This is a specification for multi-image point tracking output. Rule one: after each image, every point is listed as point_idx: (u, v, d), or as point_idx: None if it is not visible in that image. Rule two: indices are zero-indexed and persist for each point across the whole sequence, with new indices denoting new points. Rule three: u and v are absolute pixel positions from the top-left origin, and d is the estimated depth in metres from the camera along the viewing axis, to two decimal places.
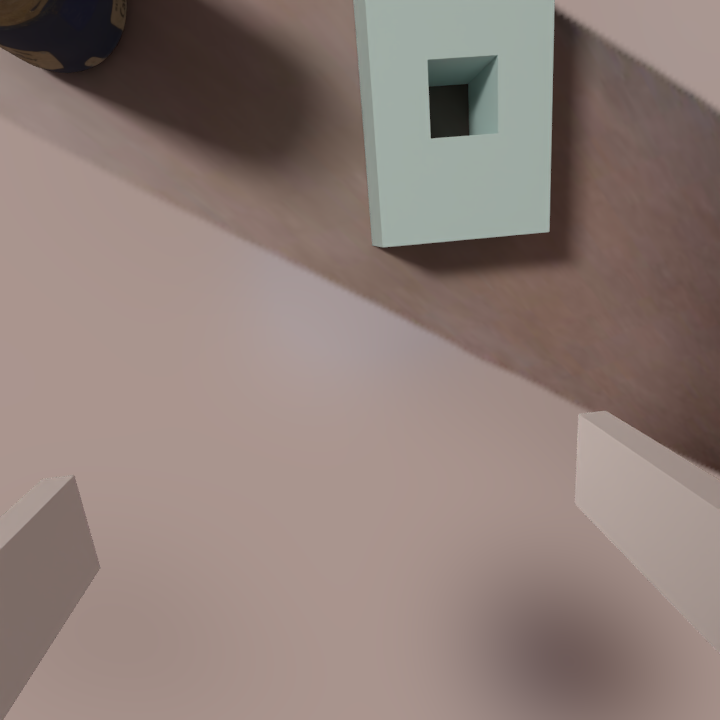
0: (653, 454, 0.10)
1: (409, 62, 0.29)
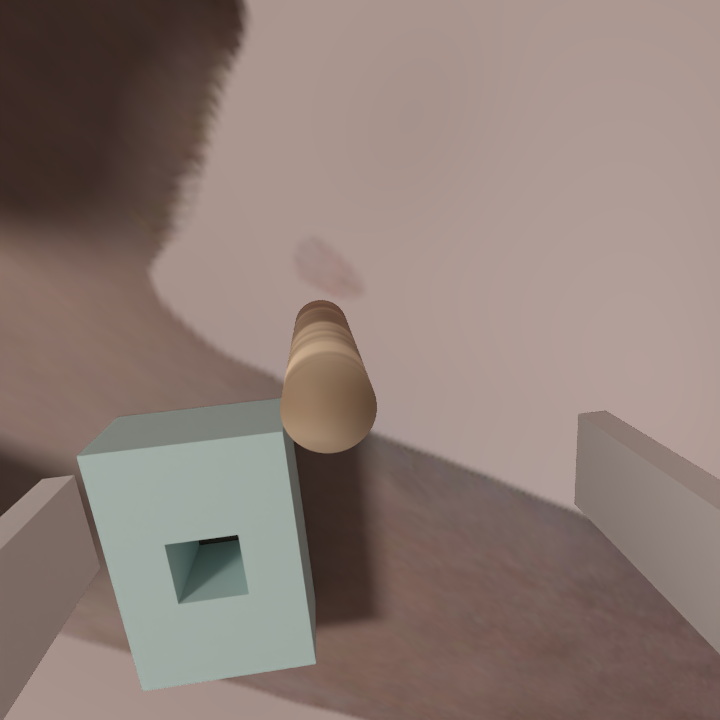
0: (653, 454, 0.10)
1: (145, 548, 0.29)
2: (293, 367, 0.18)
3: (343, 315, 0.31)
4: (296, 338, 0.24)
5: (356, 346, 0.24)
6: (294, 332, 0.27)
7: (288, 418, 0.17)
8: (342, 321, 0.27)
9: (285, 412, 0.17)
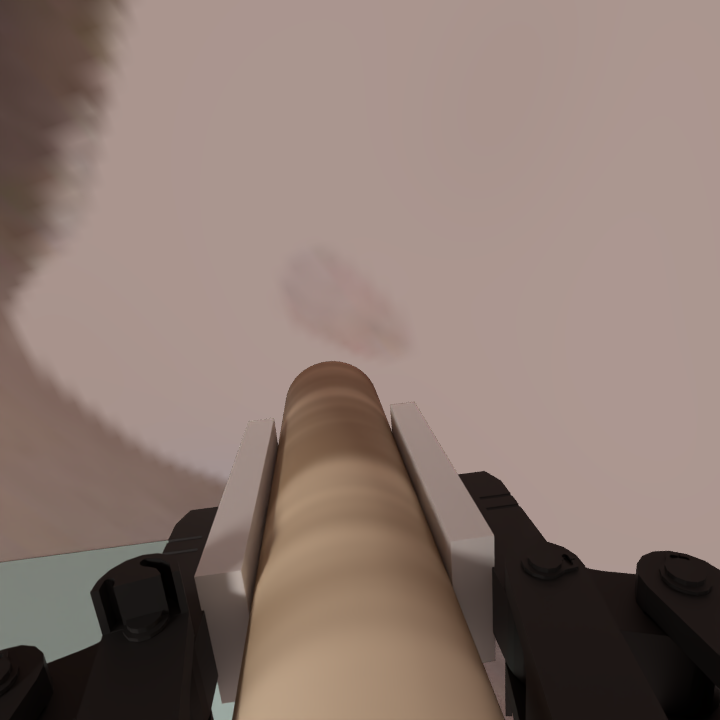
0: (417, 437, 0.12)
1: None
2: None
3: (375, 396, 0.16)
4: (277, 515, 0.09)
5: (429, 529, 0.10)
6: (278, 458, 0.12)
7: None
8: (383, 433, 0.12)
9: None
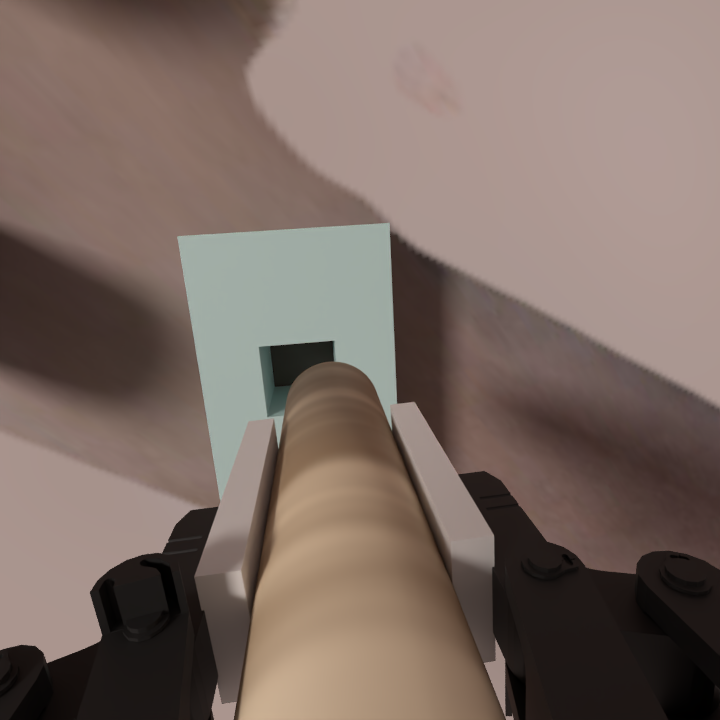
0: (417, 437, 0.12)
1: (239, 349, 0.28)
2: None
3: (376, 396, 0.16)
4: (278, 516, 0.09)
5: (430, 529, 0.10)
6: (279, 458, 0.12)
7: None
8: (383, 433, 0.12)
9: None
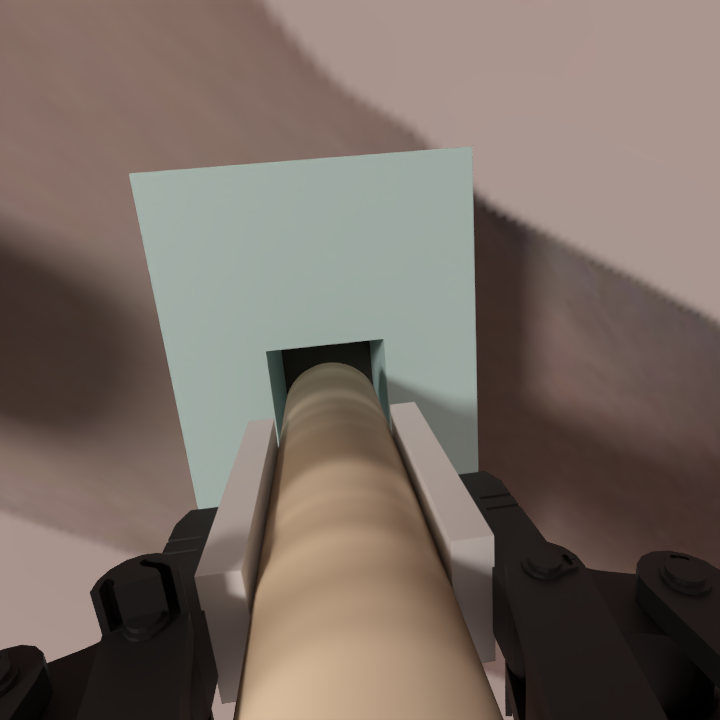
0: (417, 437, 0.12)
1: (235, 356, 0.18)
2: None
3: (375, 397, 0.16)
4: (278, 518, 0.09)
5: (429, 531, 0.10)
6: (278, 460, 0.12)
7: None
8: (383, 435, 0.12)
9: None
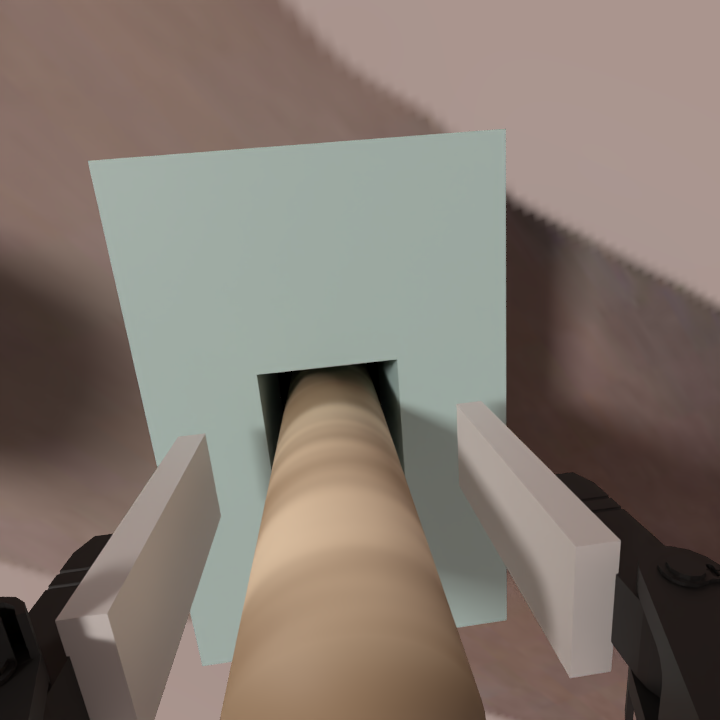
0: (497, 437, 0.11)
1: (220, 381, 0.15)
2: (262, 590, 0.07)
3: (365, 368, 0.19)
4: (284, 441, 0.13)
5: None
6: (285, 410, 0.16)
7: None
8: (367, 392, 0.16)
9: None
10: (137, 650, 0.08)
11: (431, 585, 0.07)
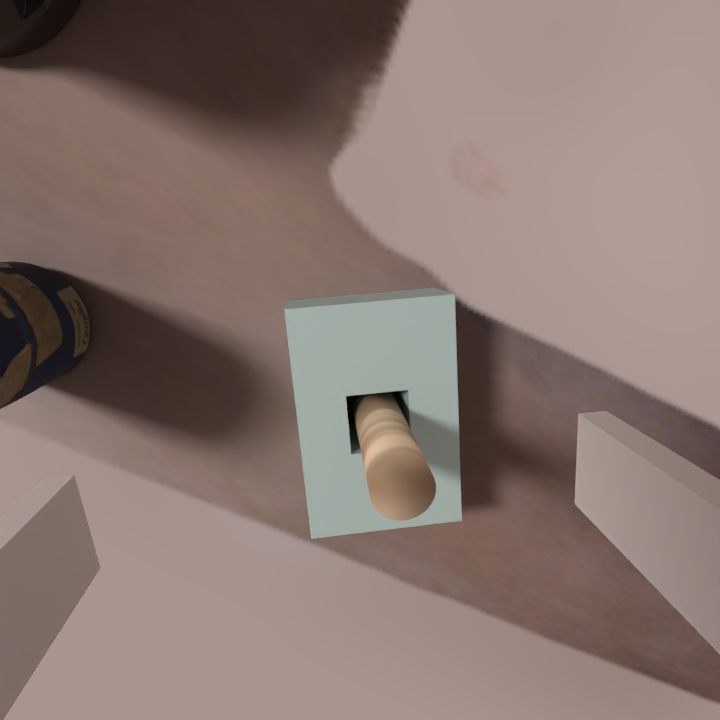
0: (653, 454, 0.10)
1: (330, 399, 0.34)
2: (375, 457, 0.26)
3: (391, 393, 0.38)
4: (365, 423, 0.31)
5: None
6: (358, 412, 0.34)
7: (374, 496, 0.25)
8: (395, 404, 0.35)
9: (373, 492, 0.25)
10: None
11: (422, 457, 0.26)
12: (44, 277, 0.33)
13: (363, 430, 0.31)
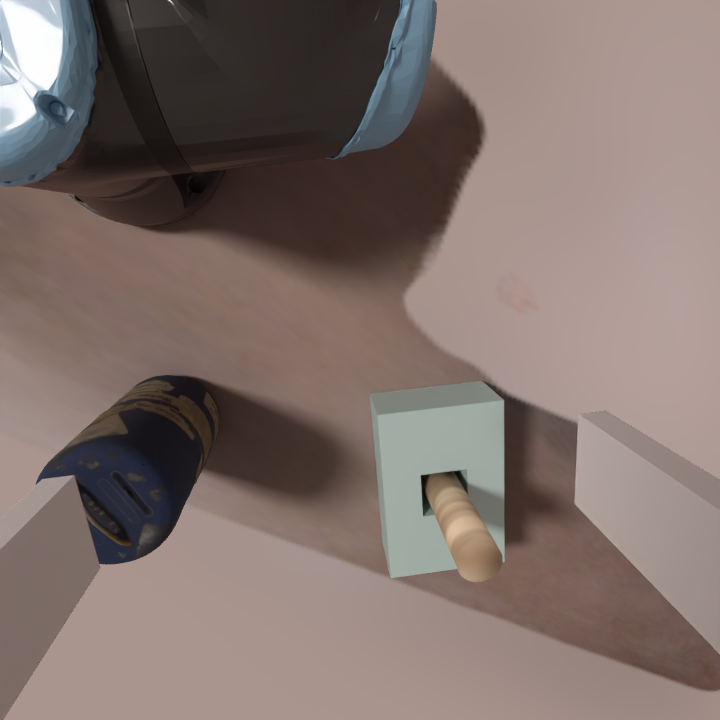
0: (653, 454, 0.10)
1: (408, 477, 0.45)
2: (458, 537, 0.37)
3: None
4: (439, 500, 0.42)
5: None
6: (429, 485, 0.45)
7: (460, 566, 0.36)
8: (457, 479, 0.46)
9: (459, 564, 0.36)
10: None
11: (491, 536, 0.37)
12: (193, 390, 0.43)
13: (439, 506, 0.42)
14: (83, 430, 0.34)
